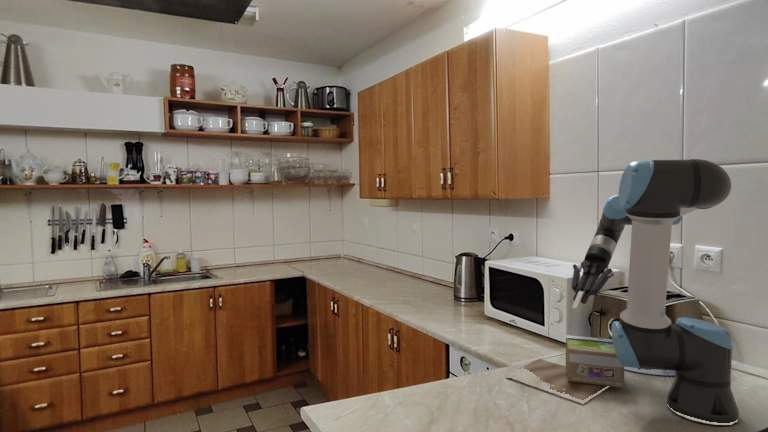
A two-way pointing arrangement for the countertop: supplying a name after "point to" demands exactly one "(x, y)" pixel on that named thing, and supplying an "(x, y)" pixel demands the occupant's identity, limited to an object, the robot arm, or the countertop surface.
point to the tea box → (593, 361)
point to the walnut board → (561, 379)
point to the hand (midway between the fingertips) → (575, 310)
